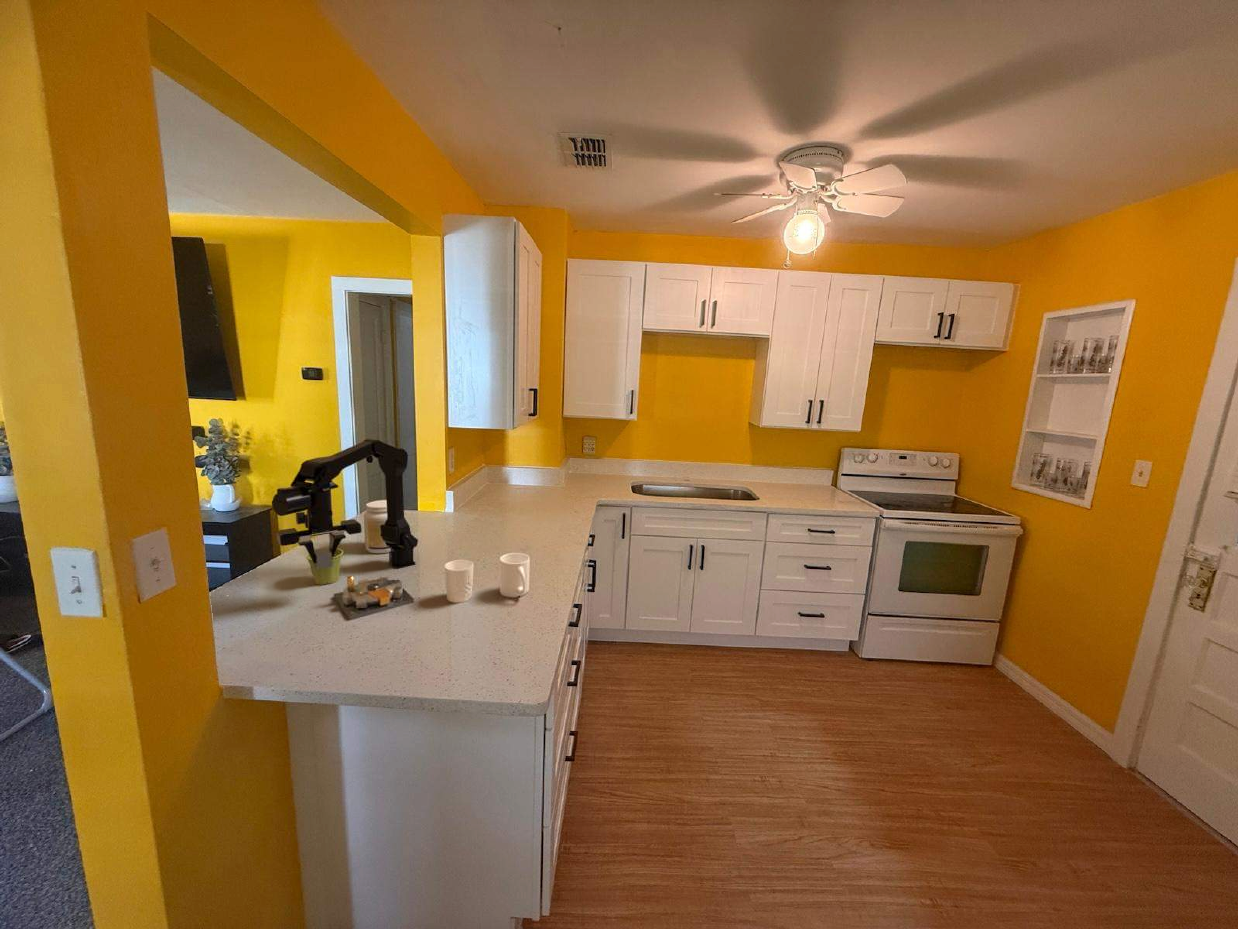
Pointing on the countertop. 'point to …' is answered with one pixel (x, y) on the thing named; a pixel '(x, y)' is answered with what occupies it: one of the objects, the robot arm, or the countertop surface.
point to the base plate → (356, 612)
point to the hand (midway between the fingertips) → (322, 561)
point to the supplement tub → (375, 526)
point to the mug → (514, 574)
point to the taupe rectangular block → (323, 558)
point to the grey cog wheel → (371, 591)
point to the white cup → (459, 580)
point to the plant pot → (326, 569)
